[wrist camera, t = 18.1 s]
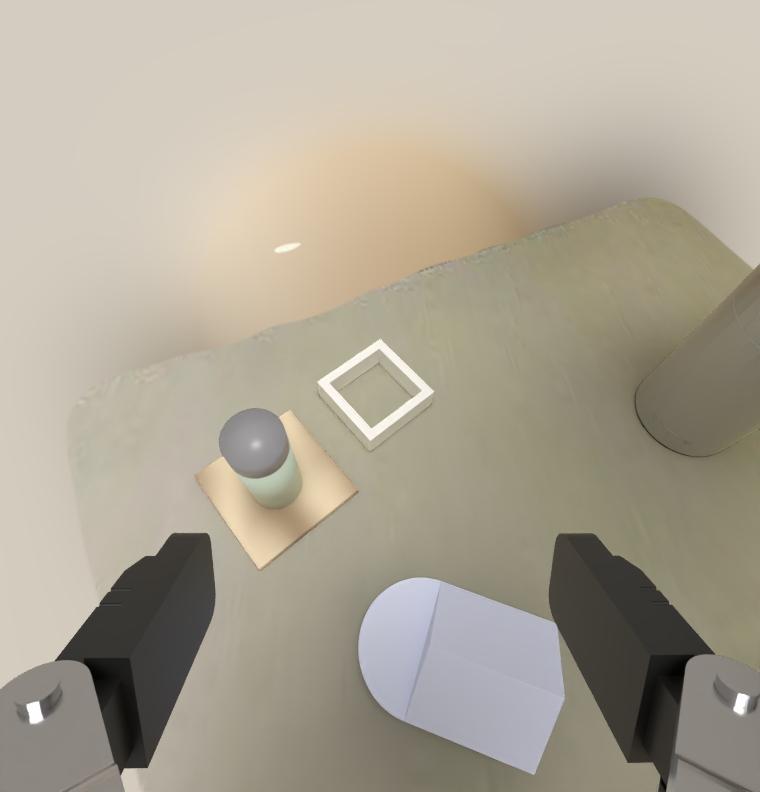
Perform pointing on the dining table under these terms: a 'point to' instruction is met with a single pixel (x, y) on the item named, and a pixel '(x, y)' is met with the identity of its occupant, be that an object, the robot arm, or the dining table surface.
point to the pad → (280, 527)
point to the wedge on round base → (464, 668)
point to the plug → (261, 457)
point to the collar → (355, 369)
